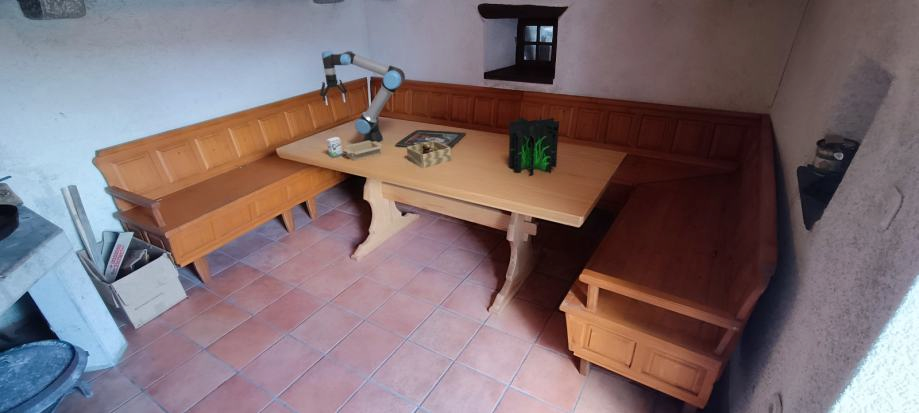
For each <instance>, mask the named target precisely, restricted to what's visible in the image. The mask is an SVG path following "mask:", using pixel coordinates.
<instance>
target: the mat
mask: <svg viewBox="0 0 919 413" xmlns="http://www.w3.org/2000/svg"><path fill="white" fill-rule="evenodd" d="M326 154H327V156H329V157H331V159H337V158H340V157H344V156H345V154H344V153H343V152H342V153H341V154H338V155H335V156H331V155H329V152H327V153H326Z"/></svg>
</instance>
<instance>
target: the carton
mask: <svg viewBox="0 0 919 413" xmlns="http://www.w3.org/2000/svg"><path fill="white" fill-rule="evenodd" d="M382 146H383V144H382V143H381V142H377V141H374V142H371V141H364V140H363V141H361V142H357V143H351V144H347V145H343V147H344V148H342V151H344V152H345V154H346V157H348V158H349V159H351V160H352V161H355V162H356V161H359V160H363V159H367V158H370V157H375V156H379V155H381V153H382V152H381V149H382V148H383V147H382Z"/></svg>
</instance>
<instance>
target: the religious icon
mask: <svg viewBox="0 0 919 413" xmlns="http://www.w3.org/2000/svg"><path fill="white" fill-rule="evenodd" d="M466 135H467V133H466V132H459V131H449V130H445V131H444V130H430V129H416V130H415V131H413V132H411V133H410V134H408V135H406V136H405V137H404V138H402V139H400V140H399V141H398V142H396V143H395V147H396V148H407V147H409V146H413V145H417V144H421V143H425V142H429V141H433V140H434V141H437V142H440V143H442V144H444V145H446V146H449V147H450V148H451V149H452V148H453V147H454V146H455V145H456V144H459V142H460V141H461V140H462V139H463V138H464V137H465V136H466Z"/></svg>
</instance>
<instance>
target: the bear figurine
mask: <svg viewBox="0 0 919 413" xmlns="http://www.w3.org/2000/svg"><path fill="white" fill-rule="evenodd" d="M422 148H423V154H426V153H430V152H434V150H433V149H432V148H431V147H430V145H427V144H424V143H423V146H422Z"/></svg>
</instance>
